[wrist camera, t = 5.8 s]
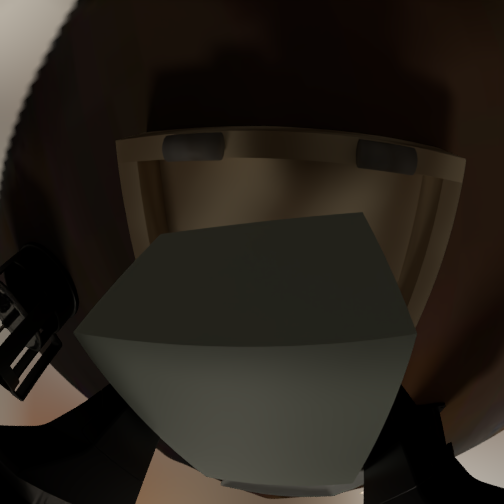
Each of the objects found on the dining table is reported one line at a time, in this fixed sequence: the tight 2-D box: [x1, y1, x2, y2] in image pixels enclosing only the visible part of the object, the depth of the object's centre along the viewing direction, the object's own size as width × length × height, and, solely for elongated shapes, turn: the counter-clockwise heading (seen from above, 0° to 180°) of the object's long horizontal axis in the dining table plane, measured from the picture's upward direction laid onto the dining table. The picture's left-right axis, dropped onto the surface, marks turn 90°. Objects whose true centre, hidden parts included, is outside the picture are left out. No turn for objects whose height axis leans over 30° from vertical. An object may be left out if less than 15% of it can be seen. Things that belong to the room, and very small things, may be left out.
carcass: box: [116, 126, 466, 327], centre depth 15 cm, size 17×13×4 cm
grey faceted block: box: [73, 212, 417, 486], centre depth 8 cm, size 6×9×4 cm, turn 11°
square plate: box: [221, 465, 364, 497], centre depth 39 cm, size 27×27×4 cm
